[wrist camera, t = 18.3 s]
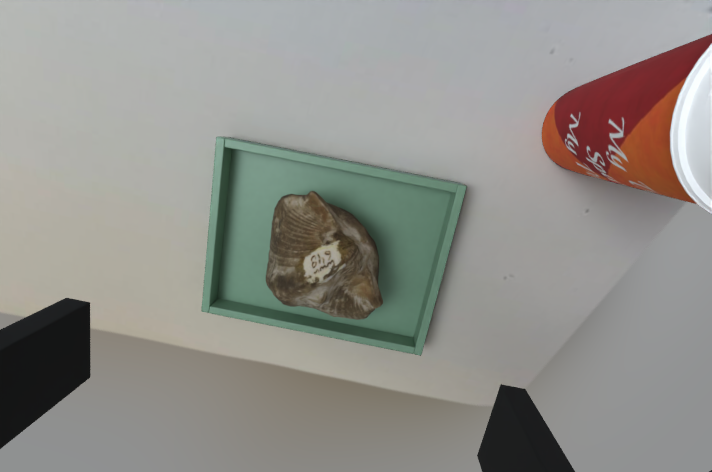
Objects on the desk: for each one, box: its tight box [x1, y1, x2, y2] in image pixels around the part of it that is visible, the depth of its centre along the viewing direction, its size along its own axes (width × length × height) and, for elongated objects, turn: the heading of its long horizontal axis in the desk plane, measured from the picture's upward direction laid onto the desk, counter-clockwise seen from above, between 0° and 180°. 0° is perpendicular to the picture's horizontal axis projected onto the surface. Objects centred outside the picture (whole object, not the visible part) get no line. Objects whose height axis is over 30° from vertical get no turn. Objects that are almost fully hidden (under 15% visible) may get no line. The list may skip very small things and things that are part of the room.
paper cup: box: [542, 34, 712, 214], centre depth 18 cm, size 8×8×14 cm
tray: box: [202, 137, 467, 356], centre depth 27 cm, size 17×13×2 cm
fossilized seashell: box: [266, 191, 383, 320], centre depth 25 cm, size 8×7×10 cm
